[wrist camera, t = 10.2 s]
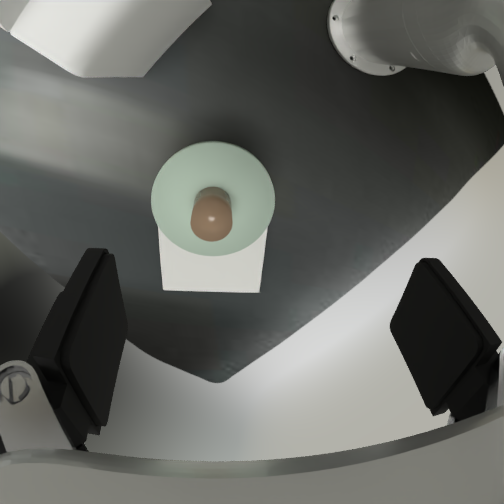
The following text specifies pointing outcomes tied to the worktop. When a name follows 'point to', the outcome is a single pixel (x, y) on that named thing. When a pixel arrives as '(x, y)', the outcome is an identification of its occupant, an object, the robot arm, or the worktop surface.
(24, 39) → the milk
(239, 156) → the lid
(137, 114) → the worktop surface
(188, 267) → the mat
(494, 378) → the robot arm
